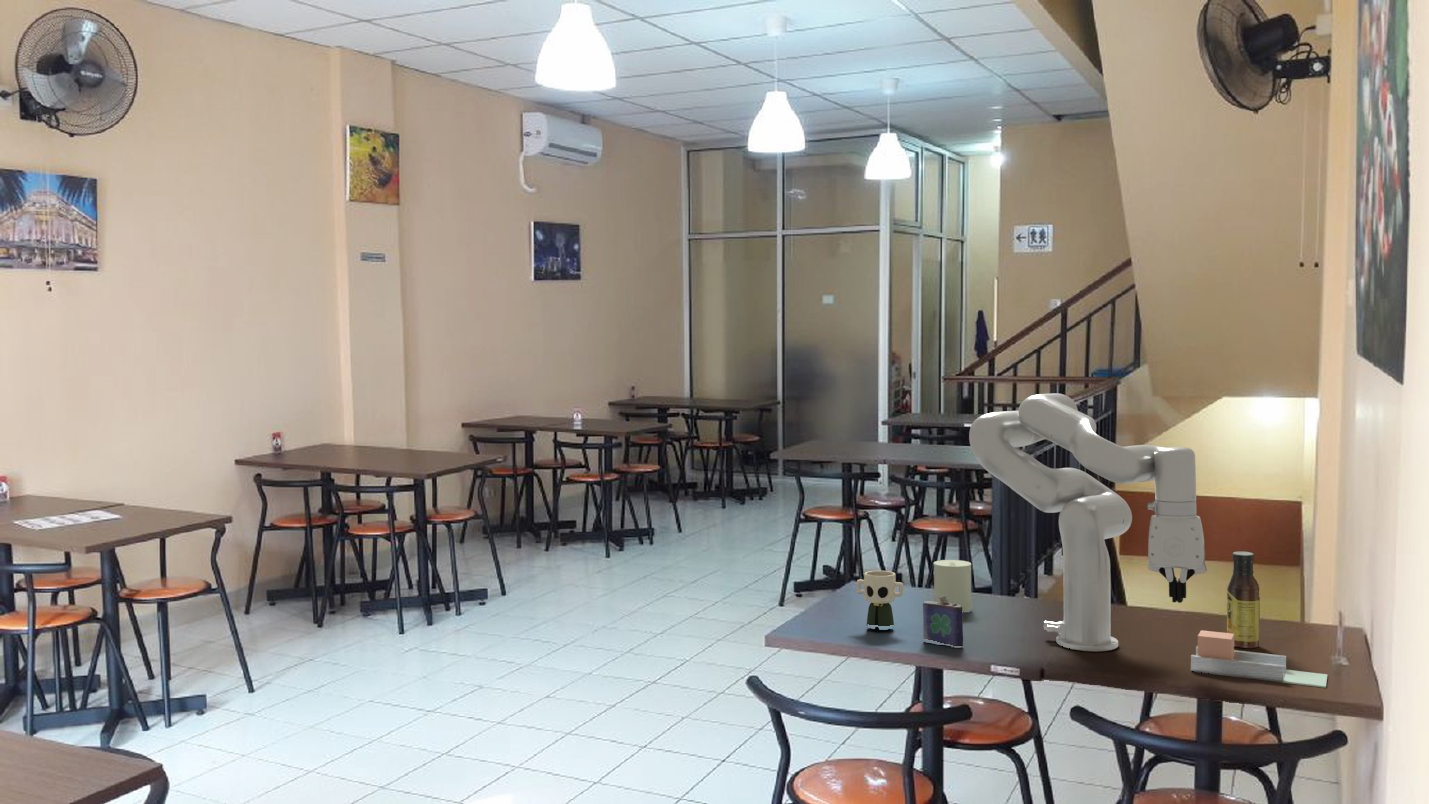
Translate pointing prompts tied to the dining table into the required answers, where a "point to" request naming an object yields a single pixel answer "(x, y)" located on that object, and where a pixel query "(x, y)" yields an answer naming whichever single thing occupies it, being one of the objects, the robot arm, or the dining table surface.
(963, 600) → the can
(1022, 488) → the robot arm
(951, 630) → the flask
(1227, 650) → the block
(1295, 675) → the pad
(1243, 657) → the chute
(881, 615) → the character mug
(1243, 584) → the sauce bottle
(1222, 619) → the dining table surface
